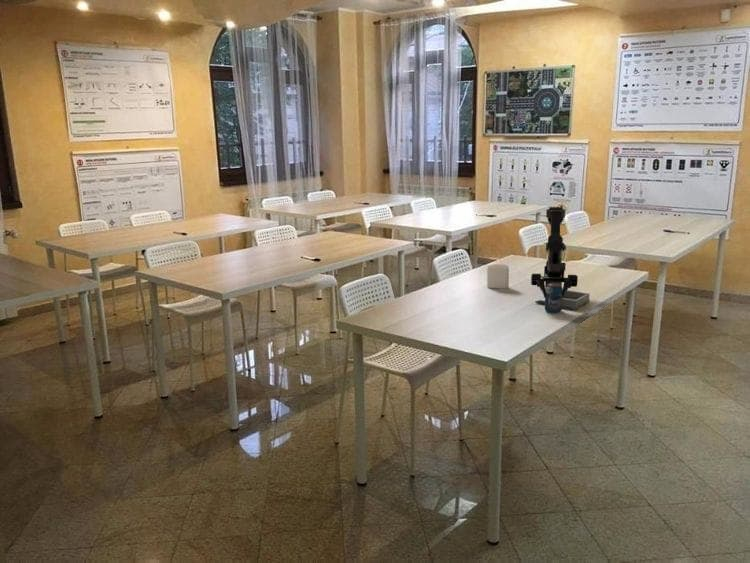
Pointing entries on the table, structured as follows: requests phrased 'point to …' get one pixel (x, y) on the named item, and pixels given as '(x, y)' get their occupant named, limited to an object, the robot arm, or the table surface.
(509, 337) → the table surface
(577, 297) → the tray
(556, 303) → the soda can
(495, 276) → the photo printer
